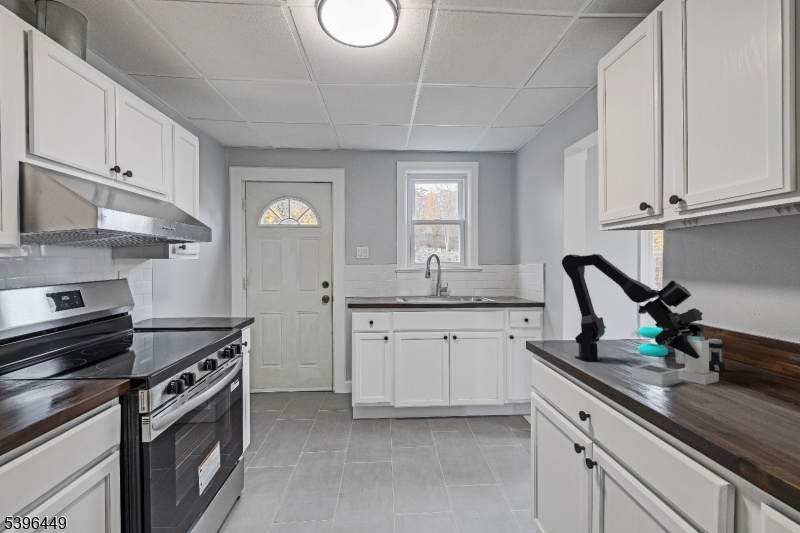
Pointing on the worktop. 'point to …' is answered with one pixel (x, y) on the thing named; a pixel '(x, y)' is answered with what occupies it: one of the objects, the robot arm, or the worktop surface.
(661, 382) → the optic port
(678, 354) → the milkshake
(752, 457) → the worktop surface
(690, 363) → the plug
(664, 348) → the donuts
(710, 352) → the black and grey device
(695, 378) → the grey square tray
